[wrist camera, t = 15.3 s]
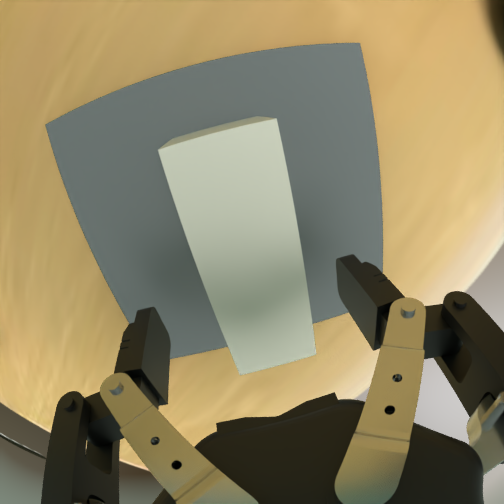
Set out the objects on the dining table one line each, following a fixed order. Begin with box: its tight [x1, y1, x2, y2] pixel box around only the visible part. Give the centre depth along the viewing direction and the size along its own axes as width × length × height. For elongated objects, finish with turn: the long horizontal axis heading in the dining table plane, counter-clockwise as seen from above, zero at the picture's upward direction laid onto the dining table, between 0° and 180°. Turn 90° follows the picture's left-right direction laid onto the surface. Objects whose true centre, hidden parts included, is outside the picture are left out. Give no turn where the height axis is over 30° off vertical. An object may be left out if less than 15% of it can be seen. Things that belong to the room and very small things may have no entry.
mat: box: [46, 43, 383, 359], centre depth 19 cm, size 20×20×1 cm
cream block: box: [158, 116, 316, 375], centre depth 17 cm, size 5×5×14 cm
